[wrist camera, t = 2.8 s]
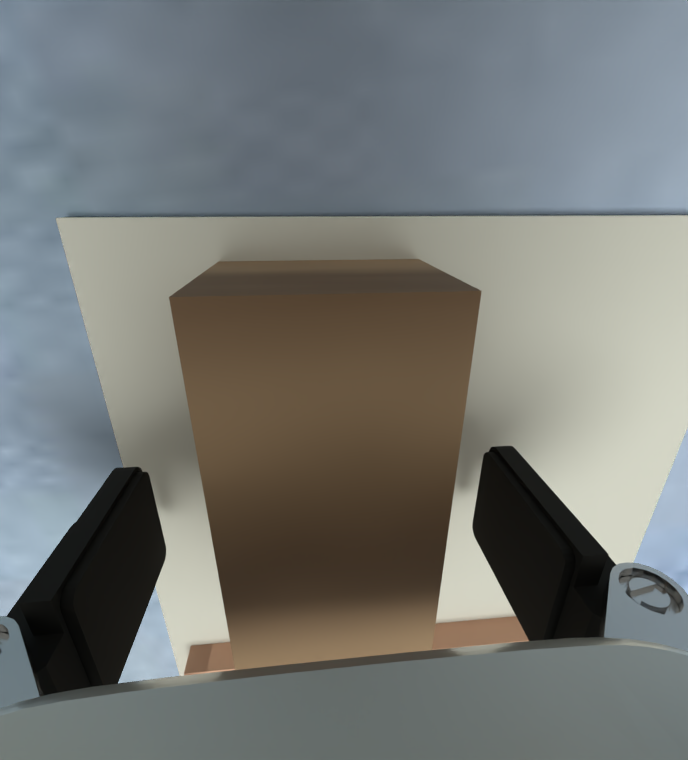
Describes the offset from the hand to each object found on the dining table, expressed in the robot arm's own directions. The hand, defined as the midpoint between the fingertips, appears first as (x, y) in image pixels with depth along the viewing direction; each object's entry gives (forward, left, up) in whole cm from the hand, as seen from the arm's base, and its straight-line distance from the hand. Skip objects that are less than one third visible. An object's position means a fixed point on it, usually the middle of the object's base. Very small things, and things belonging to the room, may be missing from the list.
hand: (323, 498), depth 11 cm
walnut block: (0, 0, -1) cm, 1 cm away
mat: (+6, +3, -2) cm, 7 cm away
